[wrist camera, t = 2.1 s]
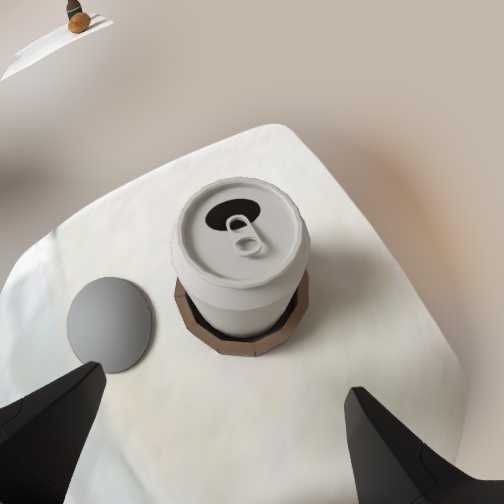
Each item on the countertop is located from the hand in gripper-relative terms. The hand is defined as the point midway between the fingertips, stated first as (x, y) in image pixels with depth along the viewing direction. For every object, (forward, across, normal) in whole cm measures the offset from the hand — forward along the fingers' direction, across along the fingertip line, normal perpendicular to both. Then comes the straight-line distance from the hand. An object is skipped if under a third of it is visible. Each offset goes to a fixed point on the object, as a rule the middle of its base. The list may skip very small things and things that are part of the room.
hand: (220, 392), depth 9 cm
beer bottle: (+100, +92, -80) cm, 157 cm away
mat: (+12, +12, +7) cm, 18 cm away
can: (+15, 0, +4) cm, 16 cm away
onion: (+85, +76, -66) cm, 131 cm away
